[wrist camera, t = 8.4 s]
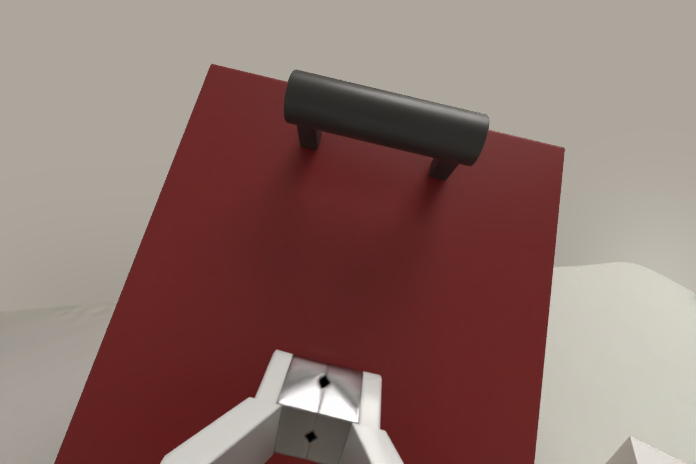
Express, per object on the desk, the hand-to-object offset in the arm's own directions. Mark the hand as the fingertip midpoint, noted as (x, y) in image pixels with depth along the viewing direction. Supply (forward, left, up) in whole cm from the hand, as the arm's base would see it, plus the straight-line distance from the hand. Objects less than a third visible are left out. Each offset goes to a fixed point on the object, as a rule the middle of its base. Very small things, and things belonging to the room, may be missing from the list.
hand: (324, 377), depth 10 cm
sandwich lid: (-3, -2, 0) cm, 4 cm away
